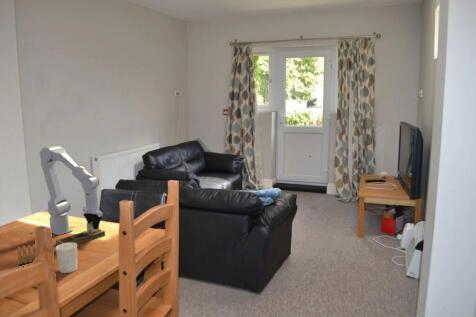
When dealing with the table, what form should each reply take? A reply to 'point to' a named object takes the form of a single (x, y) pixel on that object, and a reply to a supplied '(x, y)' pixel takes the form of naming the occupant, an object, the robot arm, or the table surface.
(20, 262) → the ammunition clip
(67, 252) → the white cup
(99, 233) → the beige slotted frame
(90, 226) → the metal peg
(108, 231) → the table surface
